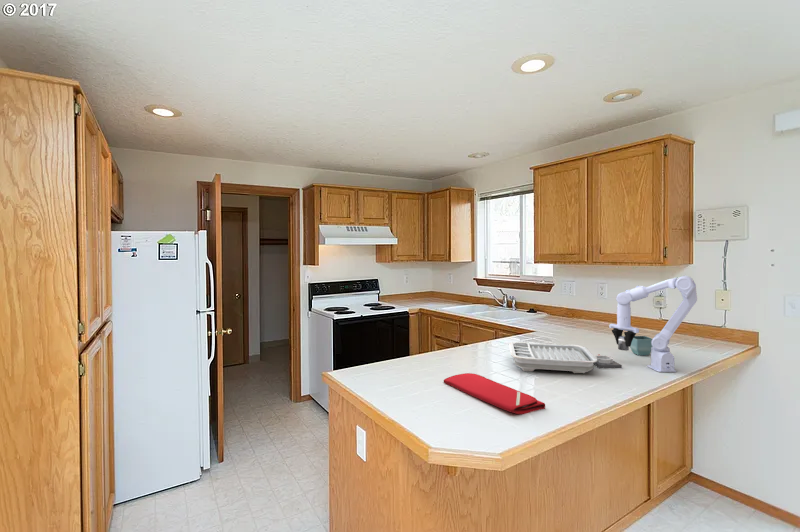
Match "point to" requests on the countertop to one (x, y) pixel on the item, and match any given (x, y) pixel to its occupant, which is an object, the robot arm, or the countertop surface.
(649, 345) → the flower pot
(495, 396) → the red folded towel
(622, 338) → the lens
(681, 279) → the robot arm
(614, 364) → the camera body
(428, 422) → the countertop surface
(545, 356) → the dish rack
